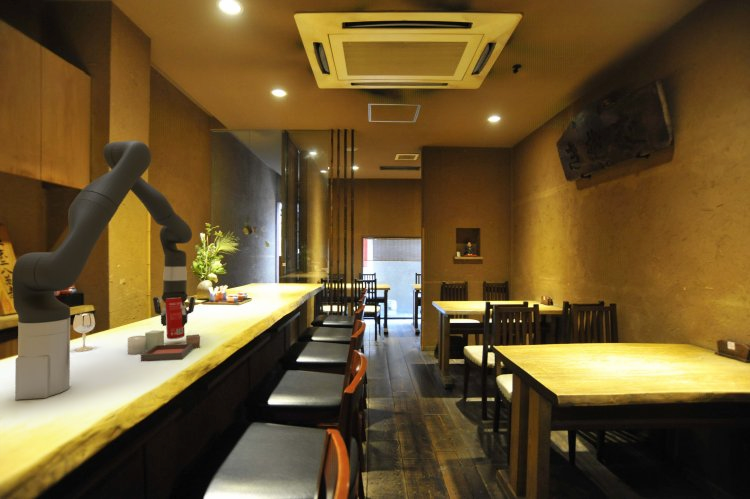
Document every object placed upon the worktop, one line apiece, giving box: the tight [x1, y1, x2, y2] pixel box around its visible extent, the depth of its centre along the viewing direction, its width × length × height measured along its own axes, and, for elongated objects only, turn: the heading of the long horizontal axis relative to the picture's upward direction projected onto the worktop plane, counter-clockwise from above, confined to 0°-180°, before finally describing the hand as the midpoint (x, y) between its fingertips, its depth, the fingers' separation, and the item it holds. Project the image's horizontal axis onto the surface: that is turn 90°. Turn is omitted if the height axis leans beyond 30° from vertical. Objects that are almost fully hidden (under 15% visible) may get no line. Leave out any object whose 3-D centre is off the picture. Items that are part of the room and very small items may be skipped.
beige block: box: [127, 335, 146, 356], centre depth 121 cm, size 5×5×5 cm
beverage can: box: [164, 297, 185, 340], centre depth 133 cm, size 6×6×15 cm
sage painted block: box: [144, 329, 165, 351], centre depth 125 cm, size 4×4×6 cm
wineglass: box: [72, 312, 96, 352], centre depth 124 cm, size 6×6×12 cm
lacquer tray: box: [140, 343, 193, 362], centre depth 118 cm, size 12×12×2 cm
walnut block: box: [185, 334, 201, 349], centre depth 128 cm, size 4×4×4 cm
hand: (174, 325), depth 133 cm, fingers closed on beverage can, 5 cm apart
